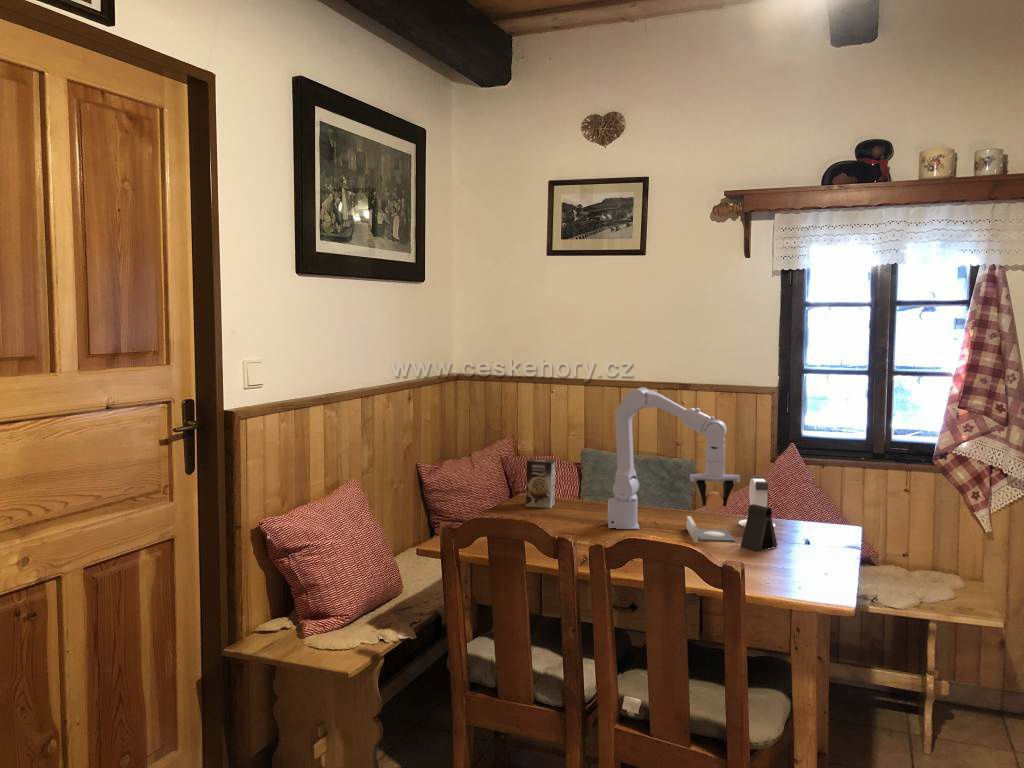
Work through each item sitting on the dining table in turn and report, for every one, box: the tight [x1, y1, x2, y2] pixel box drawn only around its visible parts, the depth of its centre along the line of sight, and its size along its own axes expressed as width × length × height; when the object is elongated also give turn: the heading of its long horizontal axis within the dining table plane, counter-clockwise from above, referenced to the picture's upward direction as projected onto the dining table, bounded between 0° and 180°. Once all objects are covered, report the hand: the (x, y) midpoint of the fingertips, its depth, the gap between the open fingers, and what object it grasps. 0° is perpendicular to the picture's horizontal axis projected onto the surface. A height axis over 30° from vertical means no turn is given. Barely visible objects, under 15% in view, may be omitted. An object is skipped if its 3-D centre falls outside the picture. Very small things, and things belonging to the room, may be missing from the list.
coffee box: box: [525, 457, 556, 509], centre depth 290 cm, size 9×6×16 cm
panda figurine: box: [738, 475, 777, 528], centre depth 265 cm, size 12×11×15 cm
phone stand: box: [740, 504, 778, 553], centre depth 240 cm, size 9×6×12 cm, turn 125°
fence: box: [686, 515, 699, 544], centre depth 253 cm, size 1×16×4 cm, turn 176°
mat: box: [698, 528, 735, 543], centre depth 252 cm, size 10×12×1 cm
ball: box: [706, 491, 724, 511], centre depth 251 cm, size 6×6×6 cm
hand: (714, 505), depth 251 cm, fingers closed on ball, 5 cm apart
